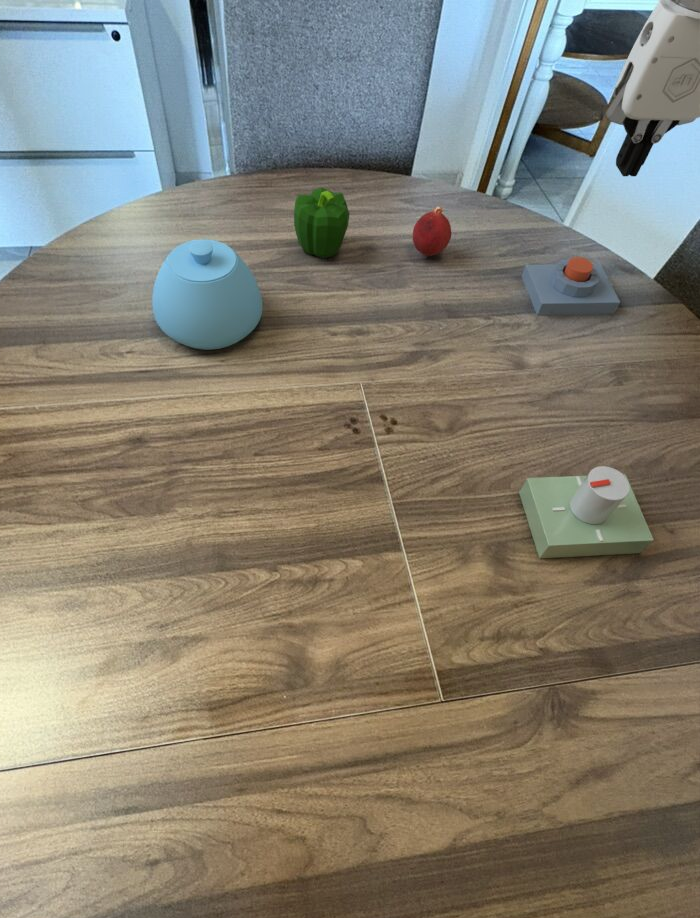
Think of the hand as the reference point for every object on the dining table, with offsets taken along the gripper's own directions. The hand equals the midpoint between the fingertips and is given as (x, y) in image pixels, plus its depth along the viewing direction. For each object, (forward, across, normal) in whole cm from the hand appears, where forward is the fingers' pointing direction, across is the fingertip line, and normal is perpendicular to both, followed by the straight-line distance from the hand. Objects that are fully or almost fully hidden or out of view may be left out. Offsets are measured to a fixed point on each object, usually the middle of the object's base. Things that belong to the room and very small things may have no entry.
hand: (625, 170), depth 78 cm
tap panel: (+19, -11, -40) cm, 46 cm away
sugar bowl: (+19, -54, -4) cm, 57 cm away
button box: (+19, 0, 0) cm, 19 cm away
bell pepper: (+19, -37, +12) cm, 43 cm away
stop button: (+16, 0, 0) cm, 16 cm away
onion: (+19, -20, +10) cm, 30 cm away
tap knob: (+16, -11, -40) cm, 44 cm away
